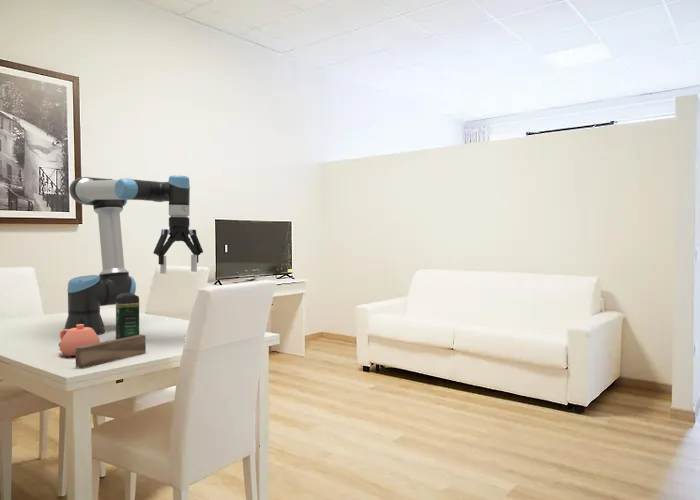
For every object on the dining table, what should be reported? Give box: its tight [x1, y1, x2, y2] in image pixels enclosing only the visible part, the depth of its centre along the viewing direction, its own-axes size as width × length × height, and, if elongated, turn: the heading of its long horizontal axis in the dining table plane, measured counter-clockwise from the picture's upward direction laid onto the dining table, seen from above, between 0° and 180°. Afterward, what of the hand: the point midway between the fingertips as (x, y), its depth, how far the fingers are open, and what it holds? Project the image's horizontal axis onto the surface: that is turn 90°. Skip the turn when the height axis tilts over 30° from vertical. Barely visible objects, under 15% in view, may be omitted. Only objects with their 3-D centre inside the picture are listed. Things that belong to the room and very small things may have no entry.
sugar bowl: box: [58, 324, 101, 357], centre depth 181 cm, size 12×14×10 cm
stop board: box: [75, 334, 147, 369], centre depth 174 cm, size 3×24×6 cm, turn 153°
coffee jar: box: [115, 293, 140, 339], centre depth 202 cm, size 10×8×19 cm
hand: (179, 272), depth 205 cm, fingers open, 13 cm apart
